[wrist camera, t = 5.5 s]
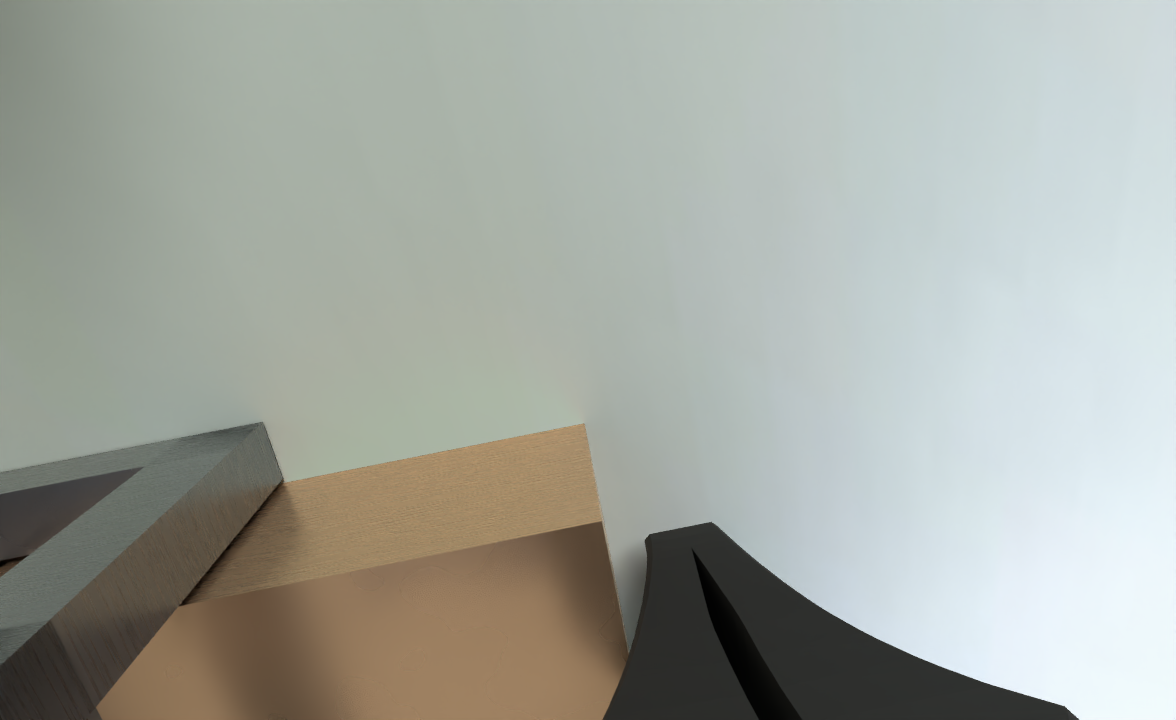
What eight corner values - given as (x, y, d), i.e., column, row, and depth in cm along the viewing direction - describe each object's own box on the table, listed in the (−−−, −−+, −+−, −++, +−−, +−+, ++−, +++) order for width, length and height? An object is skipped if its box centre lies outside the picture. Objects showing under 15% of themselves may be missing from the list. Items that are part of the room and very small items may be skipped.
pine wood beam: (616, 581, 14) (645, 735, 10) (-19, 710, 14) (-228, 916, 10) (583, 416, 13) (602, 521, 9) (-112, 554, 13) (-389, 720, 9)
